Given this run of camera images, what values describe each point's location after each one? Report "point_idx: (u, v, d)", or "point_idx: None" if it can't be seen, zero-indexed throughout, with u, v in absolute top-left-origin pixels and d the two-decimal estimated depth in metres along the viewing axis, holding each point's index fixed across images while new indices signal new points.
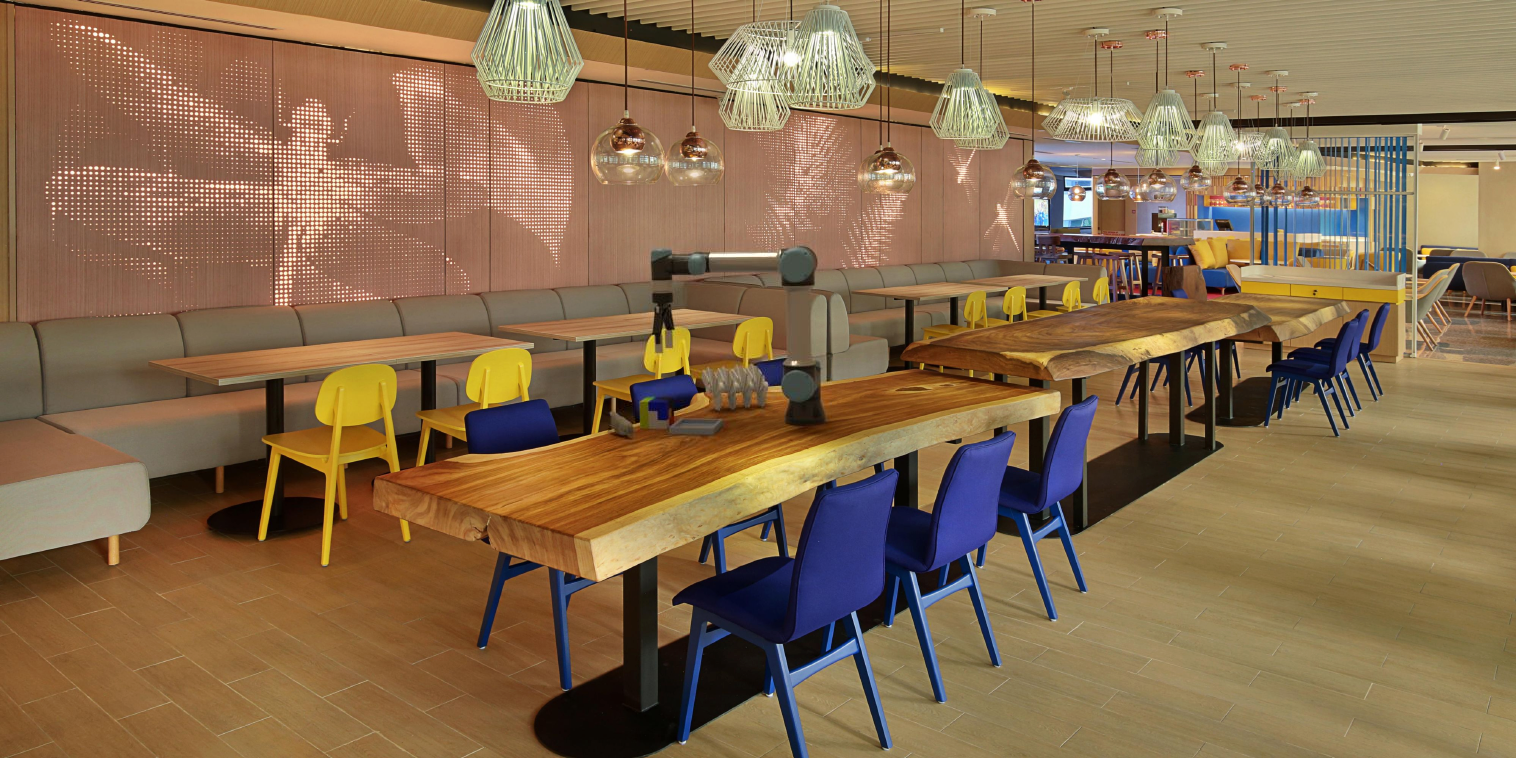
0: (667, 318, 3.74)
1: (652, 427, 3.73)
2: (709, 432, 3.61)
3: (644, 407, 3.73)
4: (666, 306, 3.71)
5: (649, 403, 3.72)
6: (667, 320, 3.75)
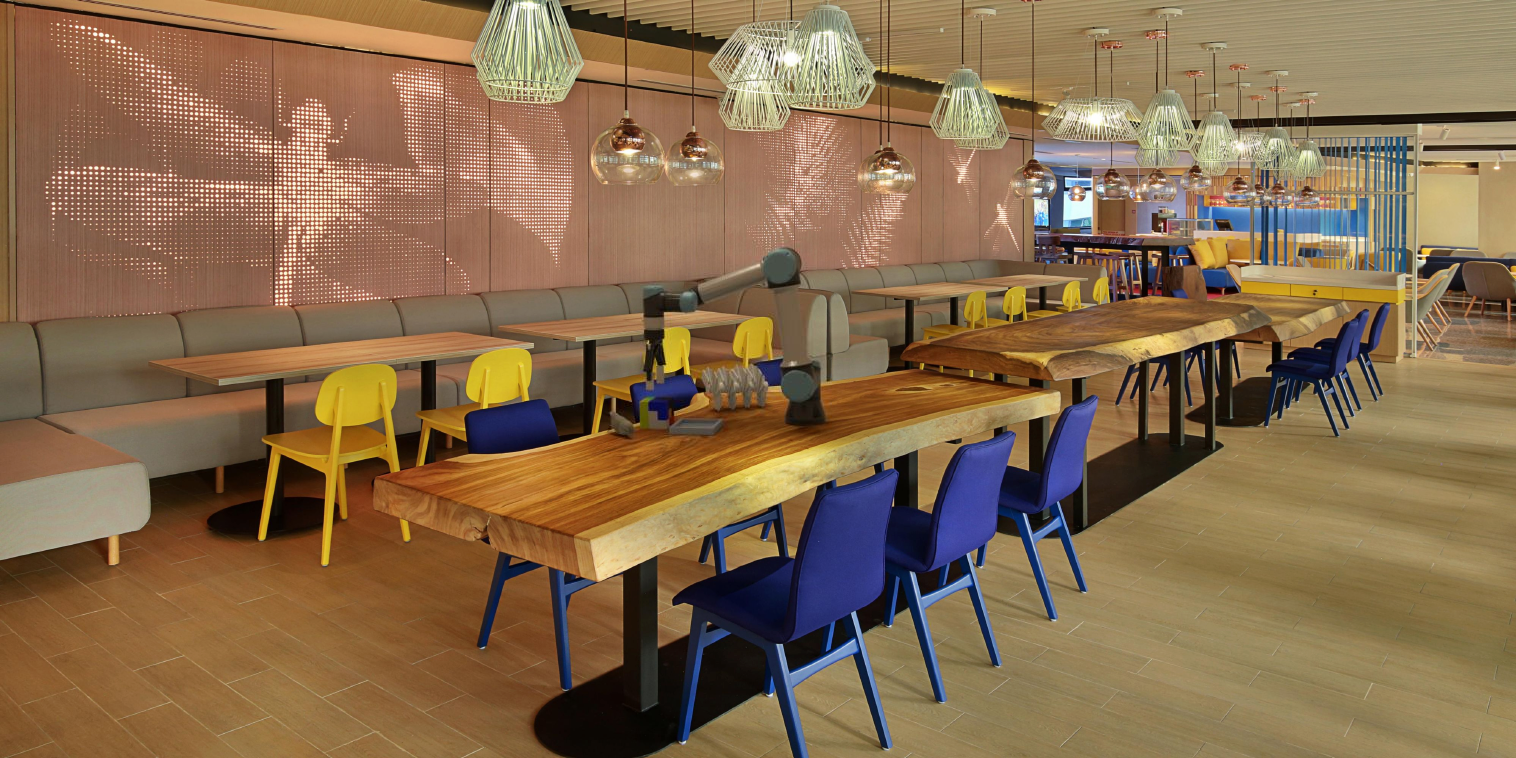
0: (658, 354, 3.77)
1: (652, 427, 3.73)
2: (709, 432, 3.61)
3: (644, 407, 3.73)
4: (658, 342, 3.74)
5: (649, 403, 3.72)
6: (658, 356, 3.78)
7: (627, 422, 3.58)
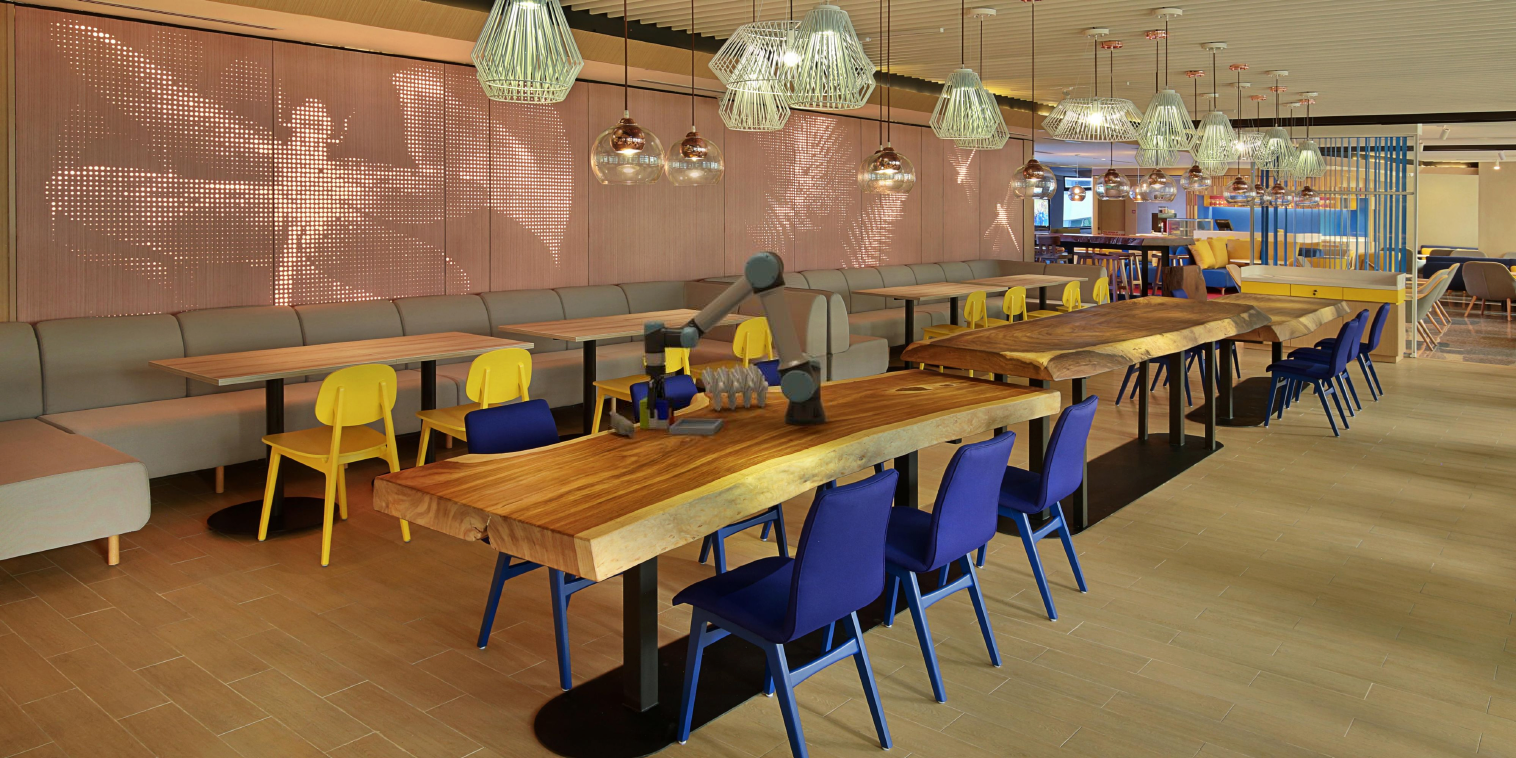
0: (660, 390, 3.79)
1: (652, 427, 3.73)
2: (709, 432, 3.61)
3: (644, 407, 3.73)
4: (659, 376, 3.76)
5: None
6: (660, 392, 3.79)
7: (627, 422, 3.59)
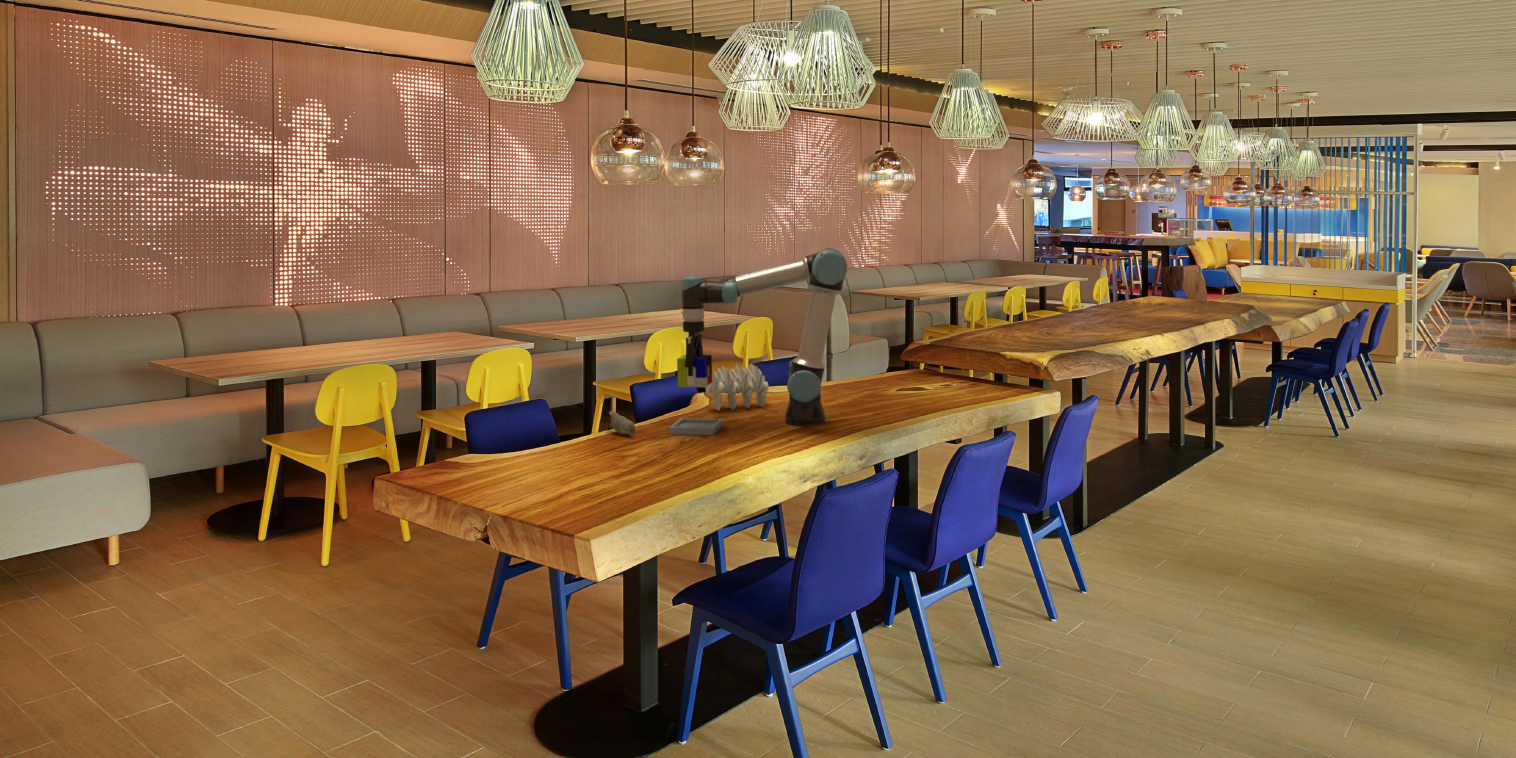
0: (697, 348, 3.68)
1: (690, 385, 3.63)
2: (709, 432, 3.61)
3: (682, 364, 3.62)
4: (697, 334, 3.66)
5: None
6: (697, 350, 3.69)
7: (628, 421, 3.60)
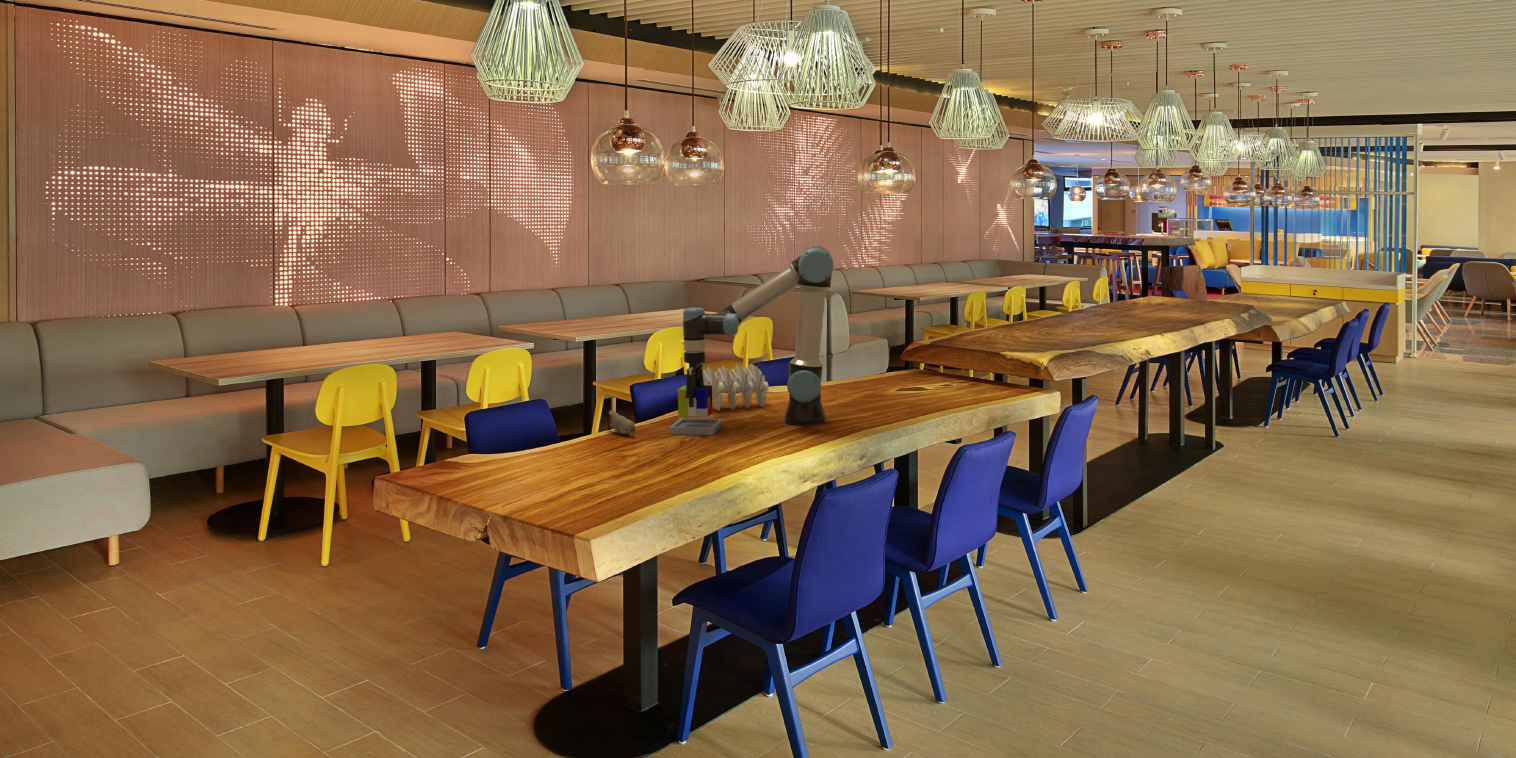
0: (698, 378, 3.70)
1: (691, 416, 3.65)
2: (709, 432, 3.61)
3: (682, 395, 3.64)
4: (698, 364, 3.67)
5: None
6: (698, 380, 3.71)
7: (628, 421, 3.60)
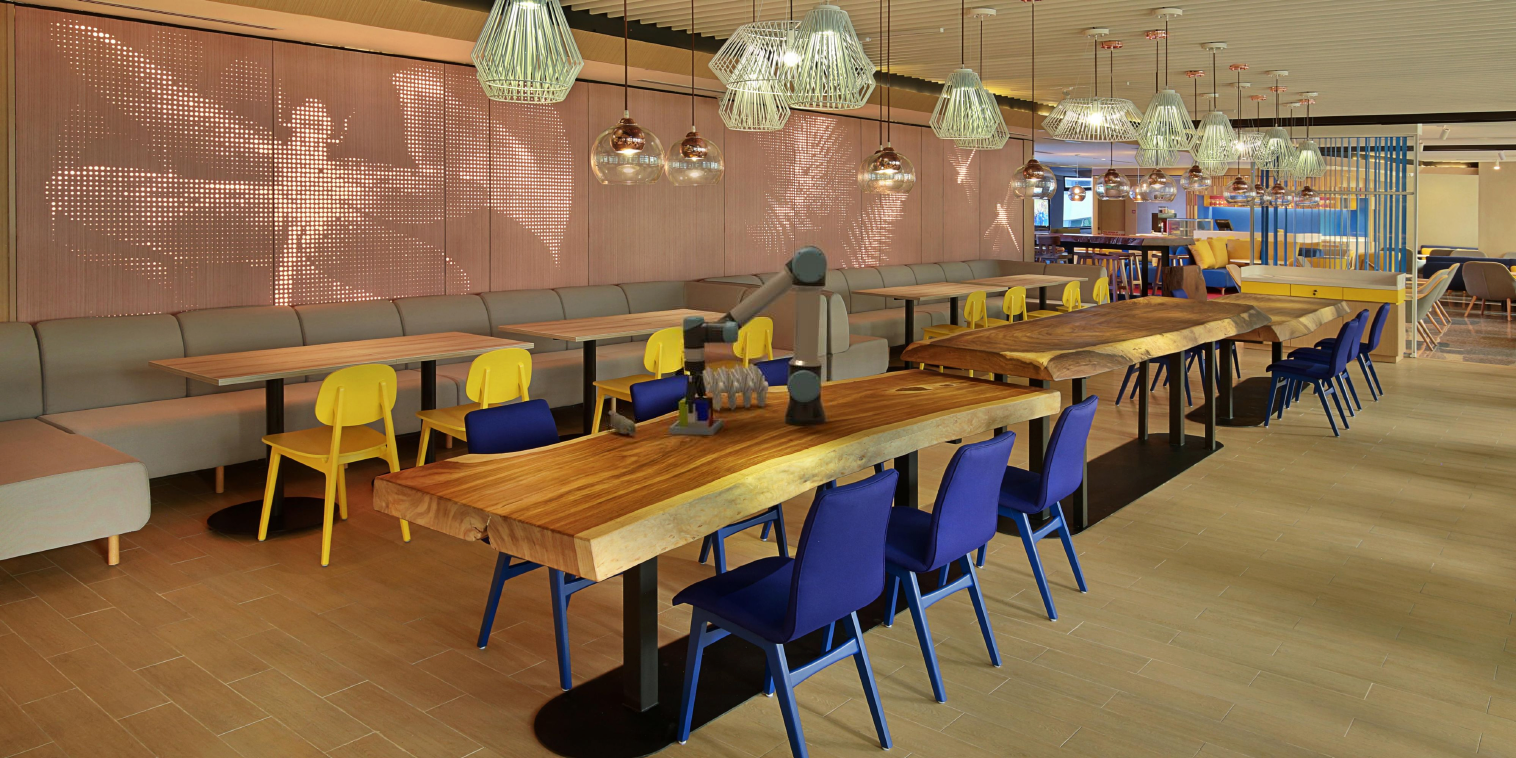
0: (699, 385, 3.71)
1: None
2: (709, 432, 3.61)
3: (683, 408, 3.65)
4: (698, 374, 3.68)
5: None
6: (699, 387, 3.72)
7: (629, 421, 3.60)
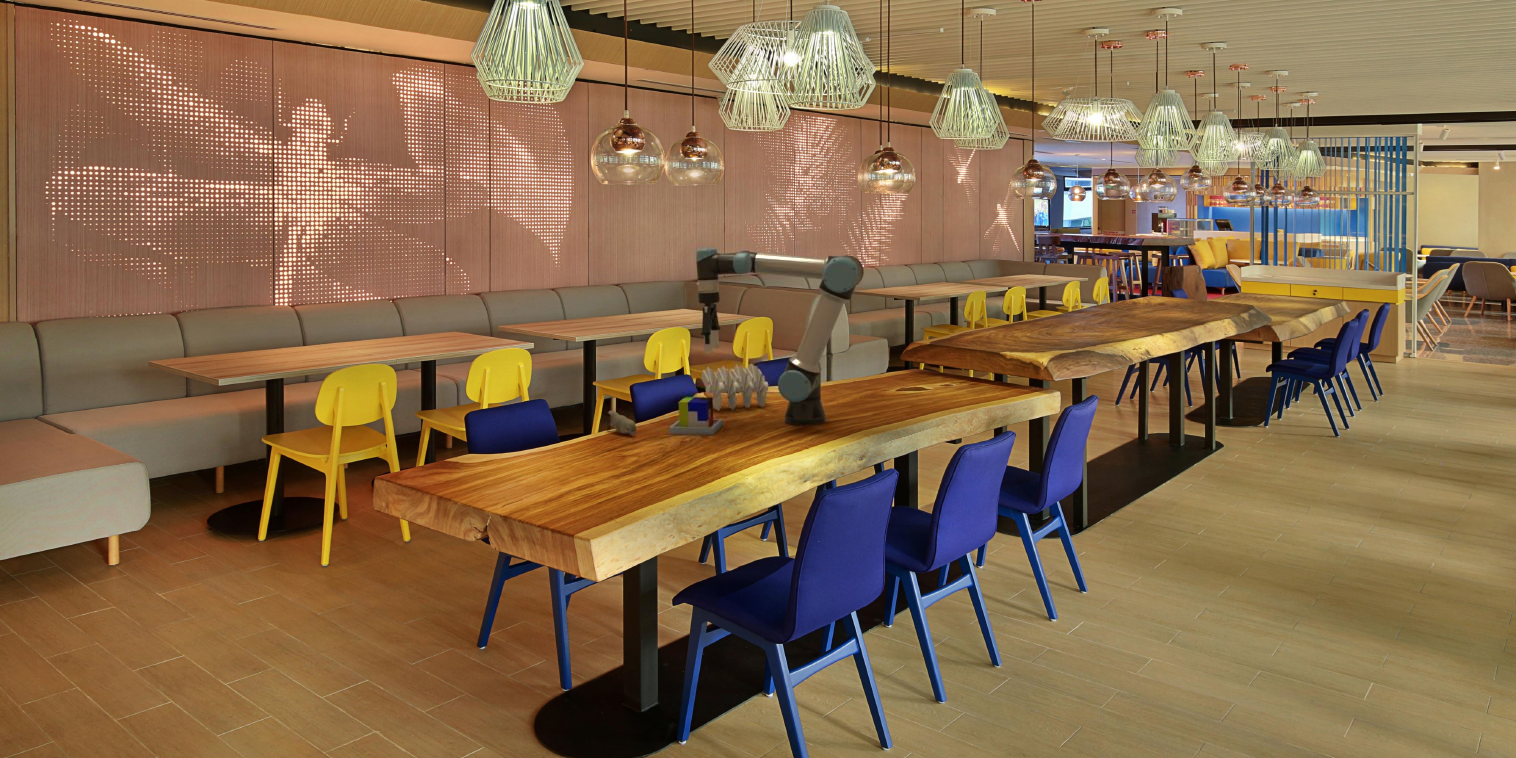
0: (713, 318, 3.73)
1: None
2: (709, 432, 3.61)
3: (683, 408, 3.65)
4: (712, 306, 3.70)
5: (689, 403, 3.64)
6: (713, 320, 3.74)
7: (629, 421, 3.61)
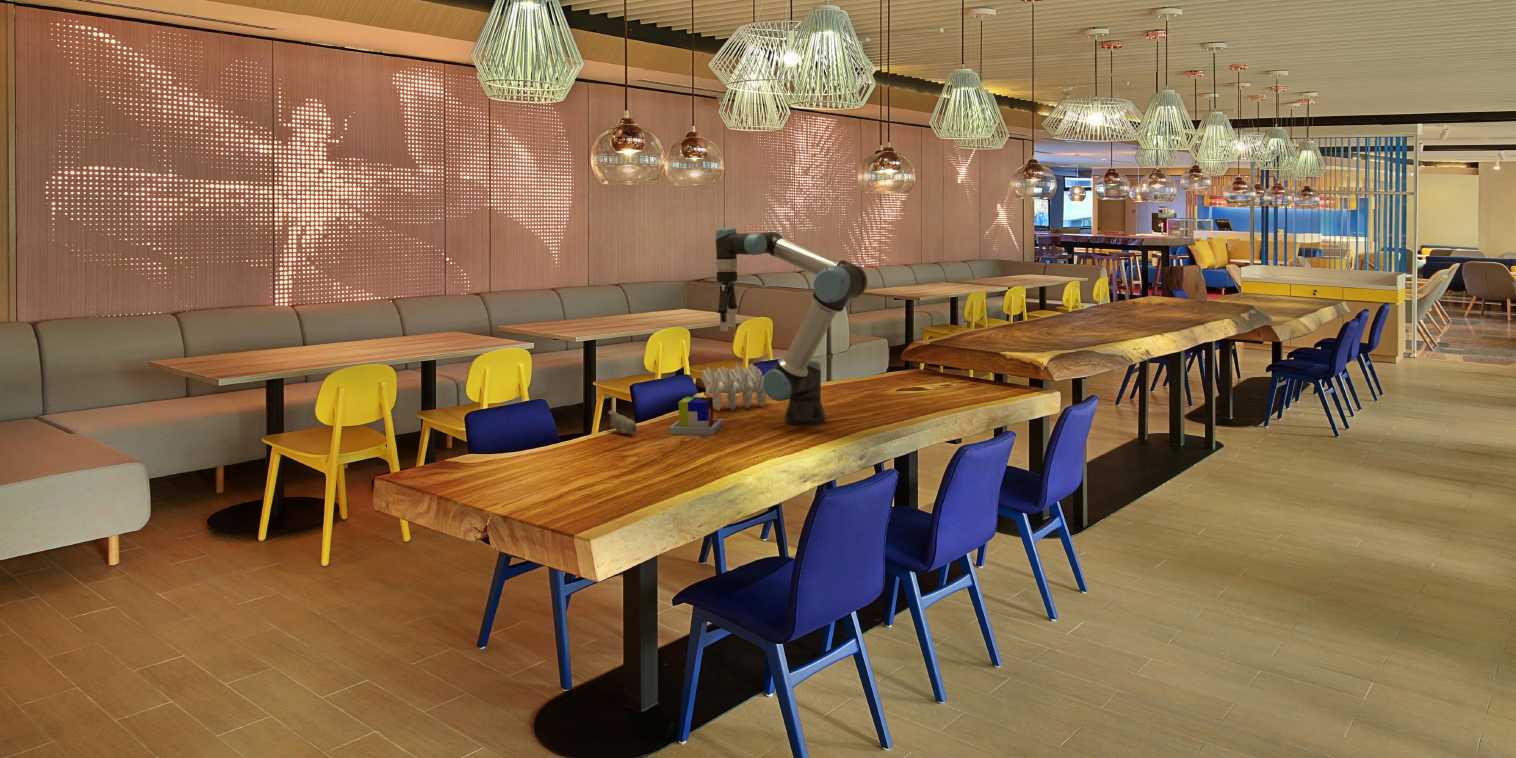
0: (731, 297, 3.80)
1: None
2: (709, 432, 3.61)
3: (683, 408, 3.65)
4: (730, 285, 3.77)
5: (689, 403, 3.64)
6: (730, 299, 3.81)
7: (630, 421, 3.61)
